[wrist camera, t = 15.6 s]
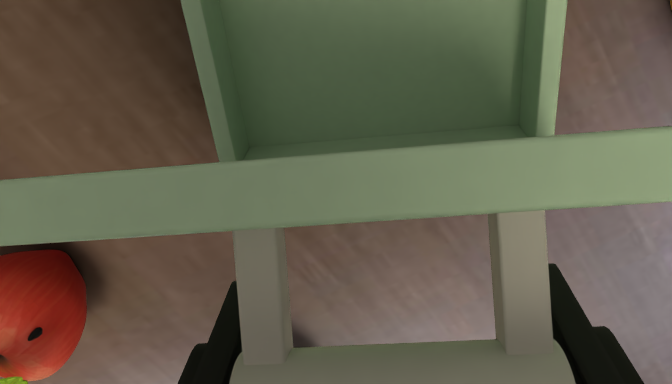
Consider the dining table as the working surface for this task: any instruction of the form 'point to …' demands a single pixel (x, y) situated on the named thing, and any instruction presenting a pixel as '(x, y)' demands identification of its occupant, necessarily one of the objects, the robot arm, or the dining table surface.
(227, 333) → the robot arm
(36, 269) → the apple
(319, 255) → the dining table surface
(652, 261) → the dining table surface
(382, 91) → the green tray box
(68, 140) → the dining table surface
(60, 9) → the dining table surface
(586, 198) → the lid
